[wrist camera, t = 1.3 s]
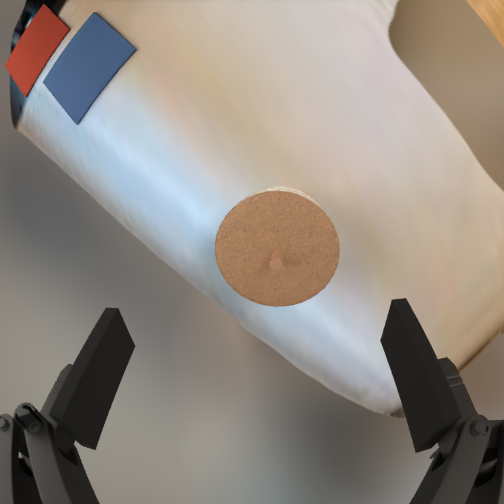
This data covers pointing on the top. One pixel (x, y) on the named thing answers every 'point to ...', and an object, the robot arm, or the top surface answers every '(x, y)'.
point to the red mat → (35, 48)
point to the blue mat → (87, 66)
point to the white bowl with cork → (277, 247)
